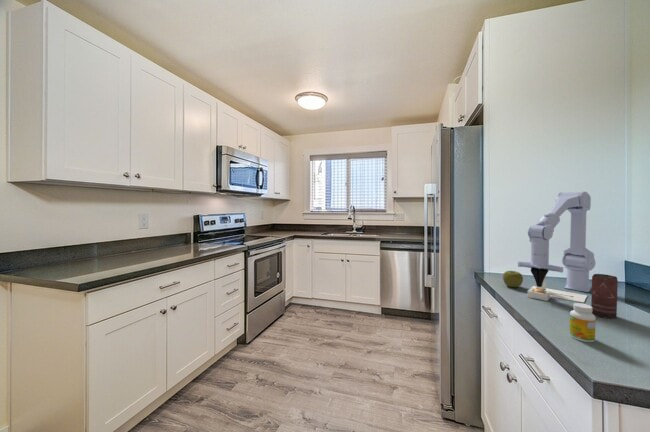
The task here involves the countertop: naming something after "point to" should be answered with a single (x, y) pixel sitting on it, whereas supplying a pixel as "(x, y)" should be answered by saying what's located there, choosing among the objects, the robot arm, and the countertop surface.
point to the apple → (512, 278)
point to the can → (604, 295)
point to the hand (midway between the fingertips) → (539, 286)
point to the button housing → (539, 294)
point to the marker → (543, 285)
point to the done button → (539, 291)
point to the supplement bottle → (582, 323)
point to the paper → (566, 295)
